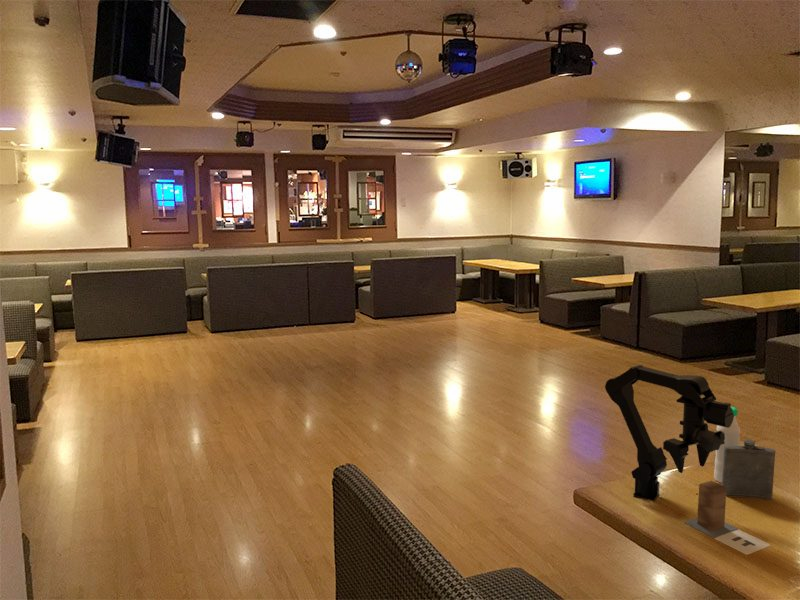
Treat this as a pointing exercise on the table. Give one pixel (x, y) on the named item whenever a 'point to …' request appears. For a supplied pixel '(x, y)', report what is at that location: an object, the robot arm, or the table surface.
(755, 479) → the flask
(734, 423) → the water bottle
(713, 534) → the mat
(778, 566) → the table surface
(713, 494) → the walnut pillar
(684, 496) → the table surface
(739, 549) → the tile
